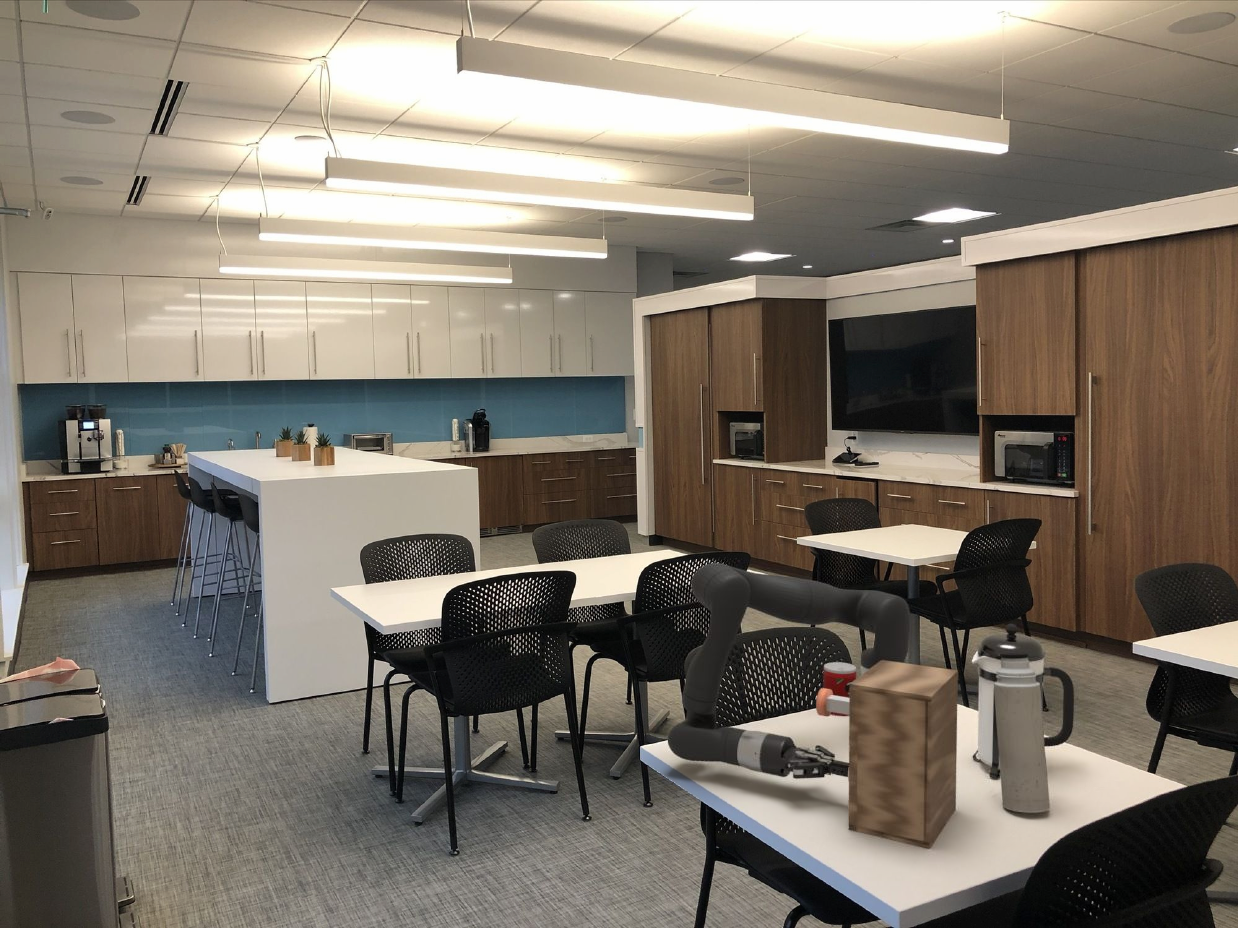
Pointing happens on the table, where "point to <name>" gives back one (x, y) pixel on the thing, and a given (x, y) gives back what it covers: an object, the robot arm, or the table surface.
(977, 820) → the table surface
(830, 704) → the salmon round knob
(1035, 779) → the thermos bottle
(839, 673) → the canned food
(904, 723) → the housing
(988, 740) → the coffee press
